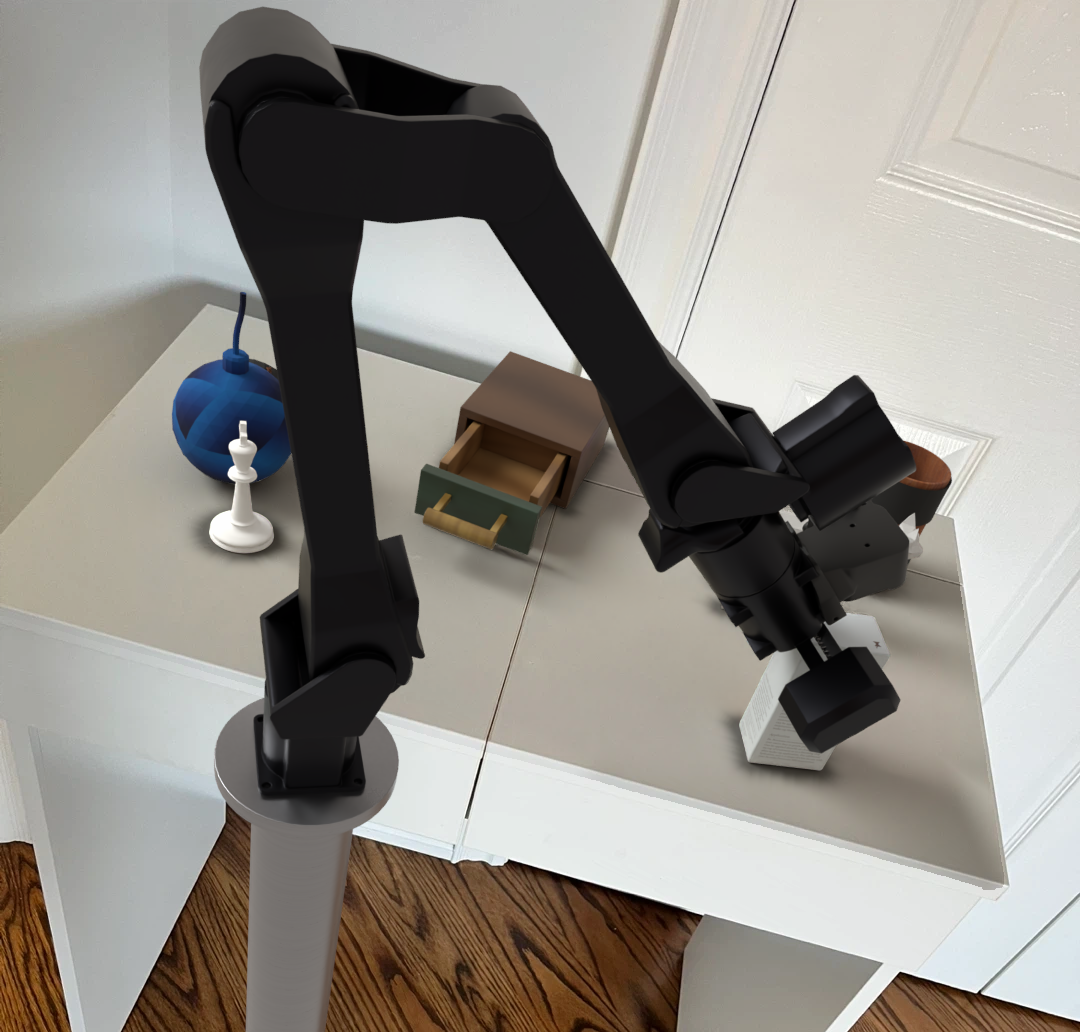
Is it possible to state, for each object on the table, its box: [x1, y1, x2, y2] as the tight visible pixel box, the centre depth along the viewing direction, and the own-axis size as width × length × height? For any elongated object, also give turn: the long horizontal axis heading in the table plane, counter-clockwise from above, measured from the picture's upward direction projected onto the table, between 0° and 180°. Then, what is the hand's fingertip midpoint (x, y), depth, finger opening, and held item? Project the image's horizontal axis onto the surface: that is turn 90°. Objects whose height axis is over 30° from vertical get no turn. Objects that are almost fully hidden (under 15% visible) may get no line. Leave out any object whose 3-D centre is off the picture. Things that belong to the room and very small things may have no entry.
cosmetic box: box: [738, 612, 892, 771], centre depth 73 cm, size 6×4×12 cm
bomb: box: [171, 291, 292, 485], centre depth 81 cm, size 10×11×15 cm
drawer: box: [414, 420, 570, 556], centre depth 87 cm, size 17×10×4 cm, turn 162°
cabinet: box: [453, 350, 610, 510], centre depth 96 cm, size 14×12×6 cm
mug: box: [871, 439, 953, 567], centre depth 93 cm, size 9×12×12 cm
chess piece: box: [209, 421, 275, 554], centre depth 77 cm, size 5×5×10 cm
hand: (829, 683), depth 73 cm, fingers open, 9 cm apart
